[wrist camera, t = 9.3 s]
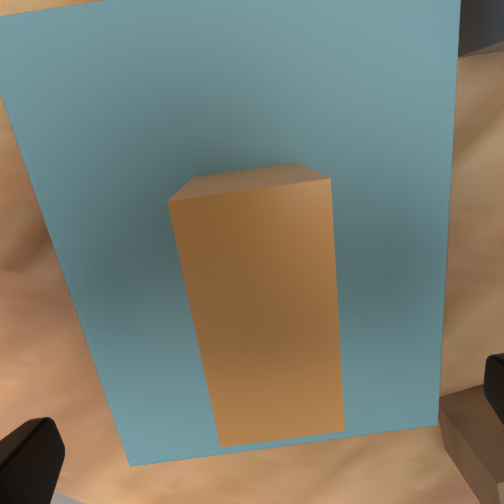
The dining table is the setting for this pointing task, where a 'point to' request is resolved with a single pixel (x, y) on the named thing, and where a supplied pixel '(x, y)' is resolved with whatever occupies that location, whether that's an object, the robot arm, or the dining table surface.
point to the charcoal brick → (481, 27)
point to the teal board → (234, 159)
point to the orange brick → (263, 299)
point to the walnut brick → (474, 442)
